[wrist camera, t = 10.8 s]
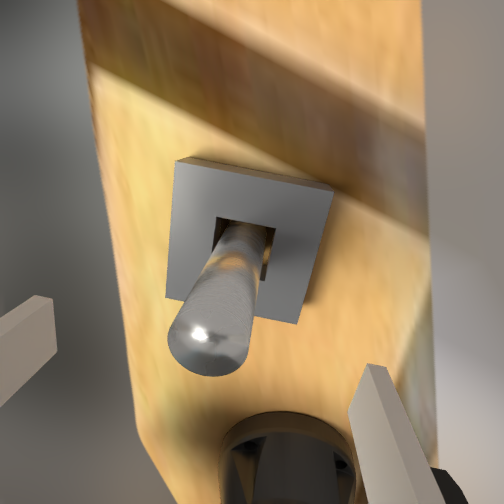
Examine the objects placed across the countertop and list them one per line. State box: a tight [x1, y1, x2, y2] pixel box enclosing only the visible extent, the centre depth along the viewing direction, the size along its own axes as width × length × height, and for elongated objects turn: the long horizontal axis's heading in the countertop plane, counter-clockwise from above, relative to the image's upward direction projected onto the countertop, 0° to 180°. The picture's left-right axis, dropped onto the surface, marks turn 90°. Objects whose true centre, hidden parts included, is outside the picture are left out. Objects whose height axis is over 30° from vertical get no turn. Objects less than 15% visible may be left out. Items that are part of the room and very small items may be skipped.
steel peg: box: [168, 220, 267, 377], centre depth 19 cm, size 3×3×14 cm
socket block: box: [165, 157, 334, 324], centre depth 24 cm, size 11×11×3 cm
